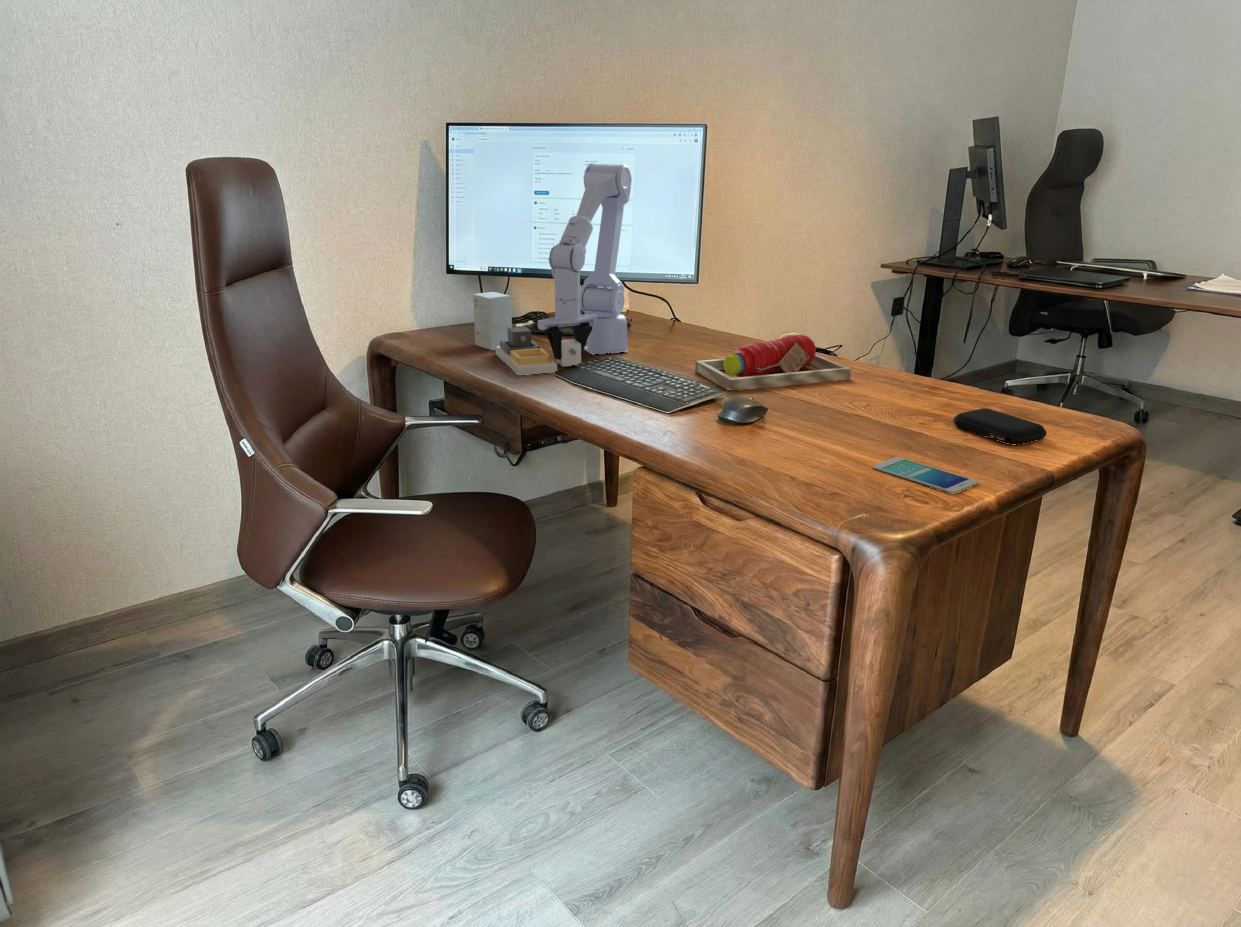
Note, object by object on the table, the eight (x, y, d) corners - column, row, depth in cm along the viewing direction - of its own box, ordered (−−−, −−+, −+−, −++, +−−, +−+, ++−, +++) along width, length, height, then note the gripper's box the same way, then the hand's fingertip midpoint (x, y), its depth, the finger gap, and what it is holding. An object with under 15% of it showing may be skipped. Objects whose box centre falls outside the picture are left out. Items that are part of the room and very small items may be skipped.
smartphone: (897, 456, 152) (980, 481, 141) (897, 461, 153) (979, 486, 142) (870, 466, 148) (953, 492, 137) (870, 471, 148) (953, 497, 137)
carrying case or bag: (943, 428, 169) (1010, 451, 157) (945, 412, 168) (1013, 434, 156) (981, 420, 174) (1050, 441, 162) (984, 404, 173) (1053, 425, 161)
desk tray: (808, 361, 216) (809, 351, 215) (850, 379, 201) (851, 368, 200) (695, 371, 206) (695, 361, 206) (729, 391, 191) (730, 379, 190)
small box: (513, 347, 229) (511, 295, 224) (491, 350, 225) (489, 298, 221) (496, 341, 235) (493, 291, 230) (474, 345, 231) (472, 293, 226)
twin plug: (526, 347, 220) (525, 326, 218) (533, 353, 214) (532, 332, 212) (508, 348, 218) (507, 328, 217) (514, 354, 213) (514, 333, 211)
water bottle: (835, 343, 204) (756, 361, 189) (827, 376, 207) (749, 395, 193) (796, 325, 212) (717, 340, 197) (789, 357, 215) (711, 374, 201)
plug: (574, 360, 215) (574, 339, 213) (583, 366, 209) (583, 345, 207) (556, 361, 213) (555, 340, 211) (564, 368, 207) (564, 346, 206)
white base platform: (532, 351, 224) (531, 337, 223) (557, 372, 205) (556, 357, 204) (496, 354, 221) (495, 340, 220) (518, 376, 202) (517, 360, 201)
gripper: (586, 293, 213) (586, 350, 218) (530, 298, 206) (532, 357, 211) (601, 297, 208) (602, 355, 212) (545, 303, 200) (547, 363, 205)
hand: (568, 357), depth 211 cm, fingers closed on plug, 5 cm apart
